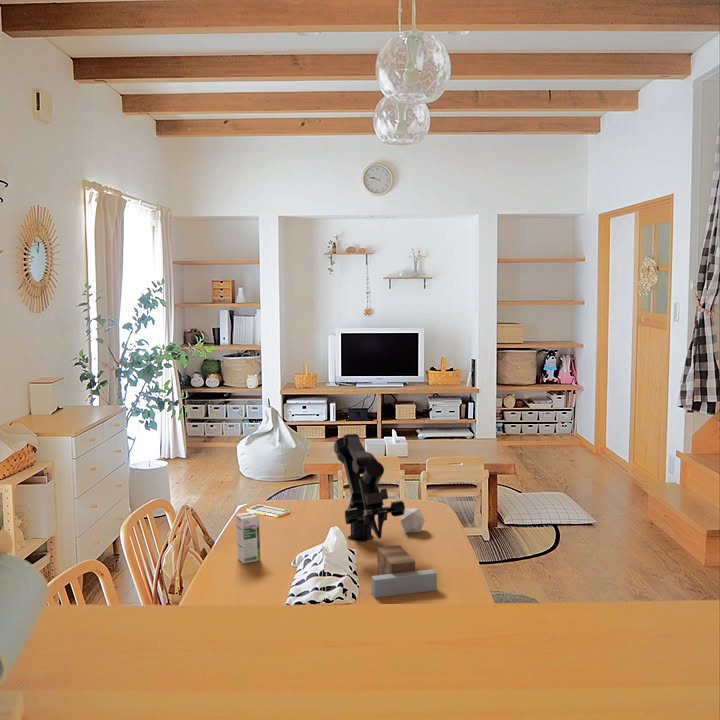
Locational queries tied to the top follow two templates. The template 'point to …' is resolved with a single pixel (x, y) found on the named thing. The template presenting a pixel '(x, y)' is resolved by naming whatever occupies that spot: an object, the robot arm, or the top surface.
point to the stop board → (404, 583)
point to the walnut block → (394, 560)
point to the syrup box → (248, 537)
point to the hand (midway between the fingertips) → (379, 538)
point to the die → (412, 521)
